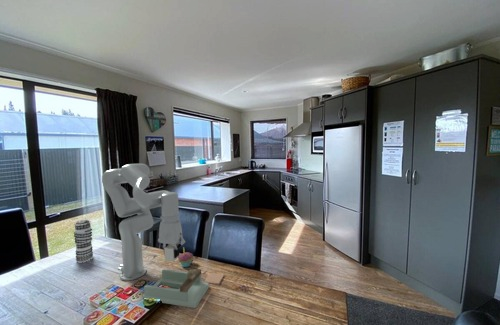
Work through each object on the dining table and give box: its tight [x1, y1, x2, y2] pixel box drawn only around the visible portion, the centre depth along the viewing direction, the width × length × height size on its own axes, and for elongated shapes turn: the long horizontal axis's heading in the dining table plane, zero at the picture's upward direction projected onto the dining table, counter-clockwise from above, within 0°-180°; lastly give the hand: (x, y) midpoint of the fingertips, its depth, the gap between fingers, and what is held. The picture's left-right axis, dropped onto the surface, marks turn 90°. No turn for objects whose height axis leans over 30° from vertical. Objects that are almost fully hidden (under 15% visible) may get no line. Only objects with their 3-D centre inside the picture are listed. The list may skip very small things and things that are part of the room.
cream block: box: [163, 244, 180, 262], centre depth 99 cm, size 4×4×6 cm
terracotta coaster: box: [203, 272, 225, 286], centre depth 109 cm, size 8×8×1 cm
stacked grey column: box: [73, 219, 94, 264], centre depth 132 cm, size 9×9×25 cm
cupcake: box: [177, 246, 194, 268], centre depth 123 cm, size 9×8×12 cm
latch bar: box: [180, 268, 202, 292], centre depth 96 cm, size 3×14×5 cm, turn 168°
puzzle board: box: [142, 269, 210, 309], centre depth 98 cm, size 26×14×7 cm, turn 78°
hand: (171, 255), depth 100 cm, fingers closed on cream block, 4 cm apart
